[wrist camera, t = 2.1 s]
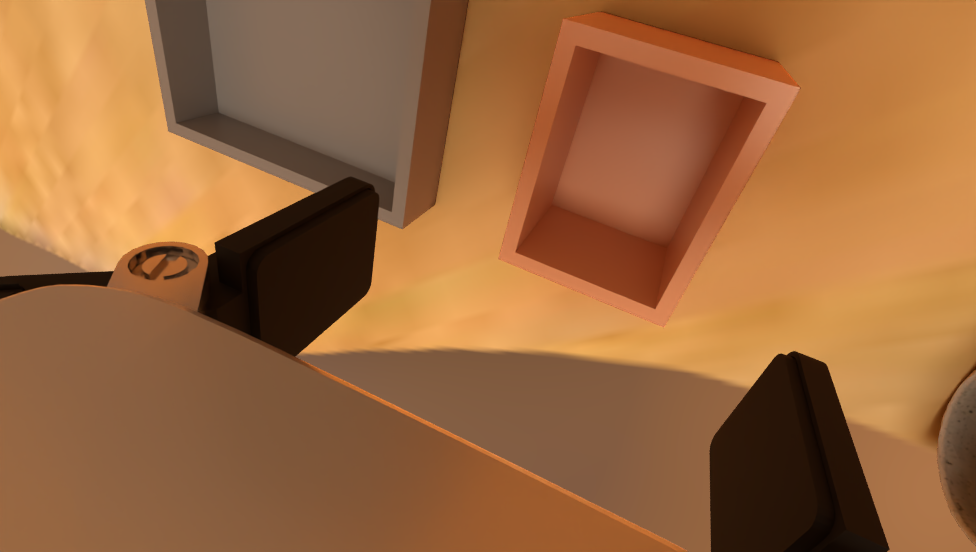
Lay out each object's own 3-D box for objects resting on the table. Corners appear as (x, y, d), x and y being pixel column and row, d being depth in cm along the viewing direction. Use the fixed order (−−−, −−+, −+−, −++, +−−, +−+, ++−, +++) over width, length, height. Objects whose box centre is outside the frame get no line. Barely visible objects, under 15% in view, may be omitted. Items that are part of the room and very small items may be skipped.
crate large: (186, -164, 22) (111, -185, 20) (482, -89, 19) (443, -102, 16) (219, 118, 30) (168, 131, 27) (435, 204, 27) (402, 229, 24)
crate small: (601, 11, 19) (563, 18, 15) (778, 61, 18) (800, 88, 13) (540, 206, 25) (498, 259, 20) (674, 257, 23) (663, 327, 18)
